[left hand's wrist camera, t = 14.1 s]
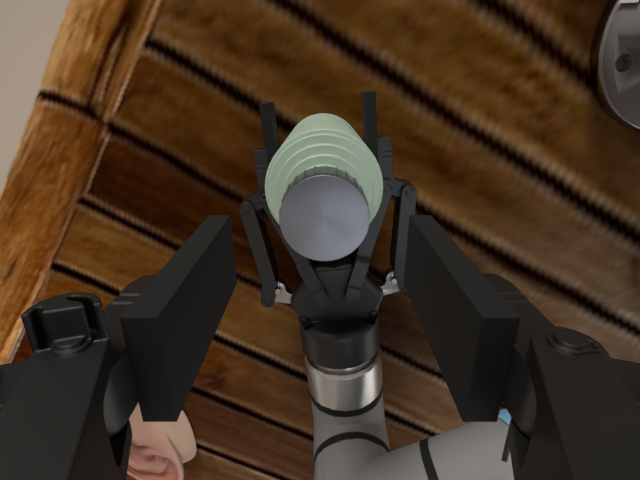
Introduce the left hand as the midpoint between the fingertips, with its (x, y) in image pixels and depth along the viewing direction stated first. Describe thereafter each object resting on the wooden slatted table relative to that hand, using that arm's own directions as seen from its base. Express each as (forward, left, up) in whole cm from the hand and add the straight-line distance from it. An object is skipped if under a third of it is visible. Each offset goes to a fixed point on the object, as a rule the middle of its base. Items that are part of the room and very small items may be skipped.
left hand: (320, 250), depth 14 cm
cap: (0, 0, -4) cm, 4 cm away
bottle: (0, 0, -24) cm, 24 cm away
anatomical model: (+3, +41, -24) cm, 48 cm away
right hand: (+3, -4, -18) cm, 19 cm away
